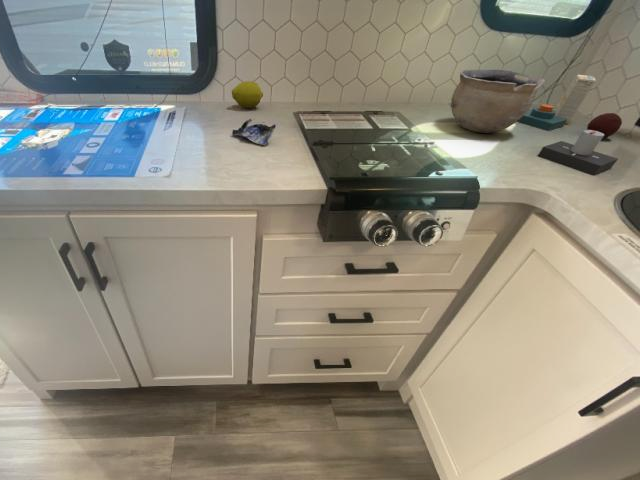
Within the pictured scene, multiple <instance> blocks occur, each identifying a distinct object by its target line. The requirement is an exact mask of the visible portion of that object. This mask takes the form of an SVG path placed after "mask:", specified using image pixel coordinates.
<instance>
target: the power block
mask: <svg viewBox="0 0 640 480" xmlns="http://www.w3.org/2000/svg"><path fill="white" fill-rule="evenodd" d="M539 108H540V106H539V107H537V106H536V107H533V108H532V109H531V108H530V109H529V110H528V111H527V112H526V113H525V114H524V115H523V116H522V117H521V118H520V119H519V120H518V121H517V122H518V123H521V124H525V125H528V126H530V127H531V126H532V127H535V128H538V129H541V130H545V131H552V130H555V129H559V128H562V127H564V126H565V125H566V124H565V123H566V121H567V120H568V119H564V118H561V117H557V116H555V114H556V111H555V110H554V109H552V111H551V112H543V111H539V110H538V109H539Z"/></svg>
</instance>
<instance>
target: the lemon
mask: <svg viewBox="0 0 640 480" xmlns="http://www.w3.org/2000/svg"><path fill="white" fill-rule="evenodd" d="M231 96H232V97H231V98H232V99H233V100H234V101H235V102H236V104H237V105H239V106H240V107H242V108H245V109H253V108H255V107H257V106H258V105H259V104H260V103H261V100H262V98H263V97H264V93H263V92H262V90H261V87H260V85H259V84H258V83H257V82H254V81H250V80H246V81H243V82H240V83H238V84H237V85H236V86H235V87H233V88H232V89H231Z"/></svg>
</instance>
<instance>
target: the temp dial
mask: <svg viewBox="0 0 640 480" xmlns="http://www.w3.org/2000/svg"><path fill="white" fill-rule="evenodd" d="M603 136H604V134H603V133H601V132H598V131H593V130H587V129H584V130H583V131H582V132H581V134H580V135H579V137H578V138H577V140H576V141H575V142H574V144H573V145H574V146H573V147H572V148H571V151H572V152H573V153H576V154H579V155H590V154H591V153H592V151H595V149H596V148H597V146H598V145H599V143H600V142H601V141H602V139H604V138H603Z"/></svg>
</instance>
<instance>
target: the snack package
mask: <svg viewBox="0 0 640 480" xmlns="http://www.w3.org/2000/svg"><path fill="white" fill-rule="evenodd" d="M253 120H255V119H253ZM251 123H252V118H249V119H246V120H245V121H244V122H243V124H242V125H241V126H240V127H239V128H238V129H232V133H231V135H232V136H238V137H241V138H247V139H248V140H249V141H251V142H253V143H255V144H257V145H262V146H265V147H266V145H267V143H269V141H270V139H271V137H272V135H273V133H274V130H275V129H276V126H277V125H276V124H272V125H271V126H268V125H266V124H263V123H265V122H264V121H263V122H262V123H260V124H259V123H255V124H252V125H249V124H251Z"/></svg>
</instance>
